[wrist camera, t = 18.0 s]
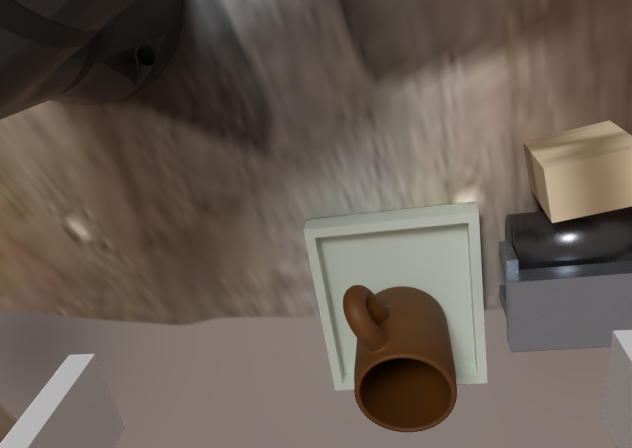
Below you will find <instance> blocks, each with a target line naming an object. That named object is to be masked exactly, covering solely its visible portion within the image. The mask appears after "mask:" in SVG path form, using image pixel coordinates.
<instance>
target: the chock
mask: <svg viewBox="0 0 632 448" xmlns="http://www.w3.org/2000/svg"><path fill="white" fill-rule="evenodd" d="M523 144H524V150H525V156H526V162H527V168H528V174H529V180H530V186H531V191H532V192H533V194H534V196H535V197H536V199H537V200H538V202H539V204H540V205H541V207H542V208H543V210H544V211H545V213H546V215H547V216H548V218H549V219H550V221H551V222H552V223H555V222H560V221H565V220H570V219H574V218H579V217H584V216H589V215H593V214H598V213H603V212H608V211H612V210H617V209H622V208H626V207H631V206H632V136H631V135H630V134H628V133H627V132H626V131H624V130H623V129H621V128H620V127H618V126H617V125H616V124H614V123H613V122H611V121H606V122H602V123H598V124H594V125H590V126H586V127H582V128H578V129H574V130H569V131H565V132H561V133H557V134H553V135H549V136H545V137H541V138H537V139H533V140H529V141H525V142H523Z"/></svg>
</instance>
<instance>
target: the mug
mask: <svg viewBox="0 0 632 448" xmlns="http://www.w3.org/2000/svg"><path fill="white" fill-rule="evenodd" d="M343 310H344V314H345V318H346V320H347V322H348V324H349V326H350V328H351V330H352V332H353V333H354V335H355V336H356V337H357V344H356V356H355V367H354V391H355V398H356V401H357V404H358V406H359V408H360V409H361V411H362V412H363V413H364V414H365V416H366V417H367V418H369V419H370V420H371V421H372V422H374V423H375V424H377V425H379V426H381V427H384V428H386V429H389V430H394V431H398V432H417V431H423V430H426V429H429V428H431V427H434V426H436V425H437V424H439V423H441V422H442V421H443V420H445V418H447V417H448V415H449V414H450V413H451V411H452V409H453V407H454V405H455V402H456V397H457V387H456V371H455V365H454V359H453V352H452V347H451V341H450V336H449V330H448V324H447V319H446V316H445V313H444V311H443V309H442V307H441V305H440V304H439V303H438V301H437V300H436V299H435V298H433V297H432V296H431V295H429V294H428V293H426V292H424V291H422V290H420V289H416V288H413V287H406V286H397V287H391V288H387V289H385V290H382V291H380V292H378V293H376V294H374V293H373V292H372V291H371V290H369V289H368V288H367V287H365V286H363V285H353V286H351V287H350V288H349V289H347V290H346V292H345V294H344V297H343Z"/></svg>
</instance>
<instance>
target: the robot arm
mask: <svg viewBox="0 0 632 448" xmlns="http://www.w3.org/2000/svg"><path fill="white" fill-rule="evenodd" d="M182 11H183V8H182V0H0V120H1V119H3V118H6V117H8V116H11V115H13V114H16V113H18V112H21V111H23V110H26V109H28V108H31V107H33V106H36V105H38V104H41V103H43V102H46V101H48V100H54V101H60V102H66V103H73V104H82V105H95V104H103V103H108V102H112V101H116V100H119V99H121V98H124V97H126V96H128V95H130V94H132V93H134V92H136V91H138V90H140V89H142V88H143V87H145V86H146V85H148V84H149V83H150V82H152V81H153V80H154V79H155V78H156V77H157V76H158V75H159V74H160V73H161V72H162V70H163V69H164V68H165V66H166V65H167V63H168V62H169V60H170V58H171V56H172V54H173V52H174V50H175V47H176V45H177V42H178V38H179V35H180V30H181V24H182ZM603 420H604V422H605V424H606V426H607V428H608V430H609V433H610V435H611V437H612V439H613V441H614V443H615V445H616V447H617V448H632V330H616V331H613V332H612V341H611V350H610V359H609V368H608V377H607V385H606V394H605V402H604V412H603ZM123 430H124V425H123V423H122V420H121V418H120V415H119V413H118V410H117V408H116V406H115V403H114V400H113V398H112V396H111V393H110V390H109V388H108V385H107V383H106V380H105V378H104V375H103V373H102V370H101V368H100V365H99V363H98V360H97V358H96V356H95V354H81V355H69V356H68V357H67V359H66V360H65V361H64V362H63V364H62V365H61V366H60V367H59V369H58V370H57V371H56V373H55V374H54V375H53V376H52V378H51V379H50V380H49V382H48V383H47V384H46V385H45V387H44V388H43V389H42V391H41V392H40V393H39V394H38V396H37V397H36V398H35V400H34V401H33V402H32V403H31V405H30V406H29V407H28V409H27V410H26V411H25V412H24V414H23V415H22V416H21V418H20V419H19V420H18V421H17V423H16V424H15V425H14V426H13V428H12V429H11V430H10V432H9V433H8V434H7V435H6V437H5V438H4V439H3V441H2V442H1V443H0V448H114V447H115V445H116V443H117V441H118V439H119V437H120V436H121V434H122V432H123Z"/></svg>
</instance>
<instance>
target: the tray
mask: <svg viewBox="0 0 632 448" xmlns="http://www.w3.org/2000/svg"><path fill="white" fill-rule="evenodd" d="M303 231H304V236H305V241H306V246H307V251H308V256H309V261H310V266H311V271H312V276H313V281H314V286H315V291H316V296H317V301H318V306H319V311H320V316H321V321H322V326H323V331H324V336H325V341H326V346H327V351H328V357H329V362H330V367H331V371H332V376H333V381H334V386H335V390H336V391H337V390H354V367H355V356H356V344H357V337H356V336H355V335H354V333H353V332H352V330H351V328H350V326H349V324H348V322H347V320H346V318H345V314H344V310H343V297H344V294H345V292H346V290H347V289H349V288H350V287H351V286H353V285H363V286H365V287H367V288H368V289H369V290H371V291H372V292H373V293H374V294H376V293H378V292H380V291H382V290H385V289H387V288H391V287H397V286H406V287H413V288H416V289H420V290H422V291H424V292H426V293H428V294H429V295H431V296H432V297H433V298H435V299H436V300H437V301H438V303H439V304H440V305H441V307H442V309H443V311H444V313H445V316H446V319H447V324H448V330H449V336H450V341H451V347H452V352H453V359H454V365H455V371H456V385H462V384H463V385H464V384H486V383H488V381H487V363H486V342H485V325H484V324H485V323H484V304H483V284H482V265H481V246H480V226H479V211H478V209H477V206H476V203H475V202H468V203H458V204H449V205H439V206H430V207H421V208H411V209H402V210H392V211H383V212H373V213H364V214H355V215H345V216H336V217H326V218H317V219H308V220H306V223H305V226H304V229H303Z"/></svg>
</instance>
